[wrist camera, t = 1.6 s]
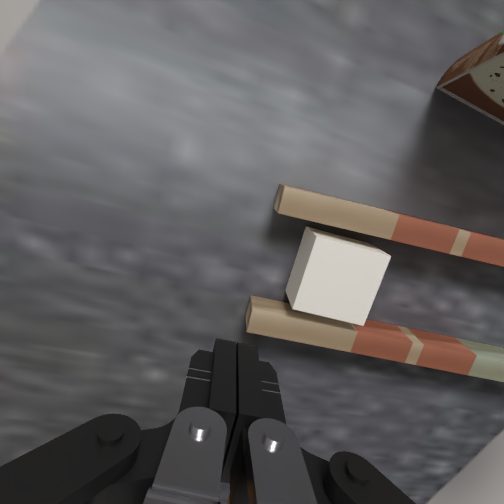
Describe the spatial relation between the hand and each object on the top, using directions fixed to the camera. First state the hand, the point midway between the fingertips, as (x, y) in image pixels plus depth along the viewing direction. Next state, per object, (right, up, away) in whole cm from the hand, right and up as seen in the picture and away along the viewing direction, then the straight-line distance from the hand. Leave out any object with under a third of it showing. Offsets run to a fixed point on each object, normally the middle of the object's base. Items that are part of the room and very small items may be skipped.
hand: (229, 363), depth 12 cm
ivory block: (+7, +3, +17) cm, 19 cm away
